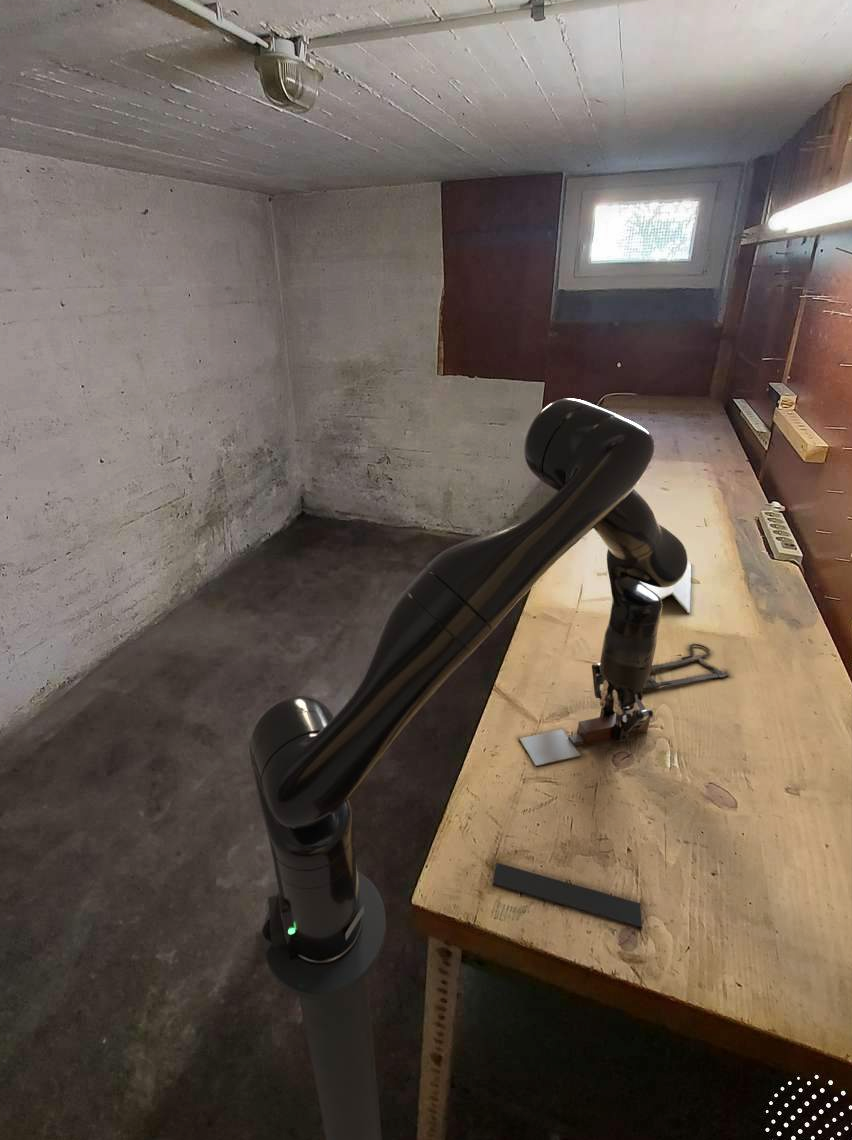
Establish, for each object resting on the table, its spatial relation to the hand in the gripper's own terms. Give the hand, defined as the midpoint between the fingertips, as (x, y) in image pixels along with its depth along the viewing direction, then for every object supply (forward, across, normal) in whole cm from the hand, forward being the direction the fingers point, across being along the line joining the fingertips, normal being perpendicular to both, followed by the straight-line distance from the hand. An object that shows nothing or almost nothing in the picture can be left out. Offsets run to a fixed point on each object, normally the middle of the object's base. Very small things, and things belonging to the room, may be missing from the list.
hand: (612, 731), depth 96 cm
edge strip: (0, +23, -22) cm, 31 cm away
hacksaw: (+1, -12, +20) cm, 23 cm away
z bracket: (+1, -41, +41) cm, 58 cm away
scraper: (0, 0, -5) cm, 5 cm away
